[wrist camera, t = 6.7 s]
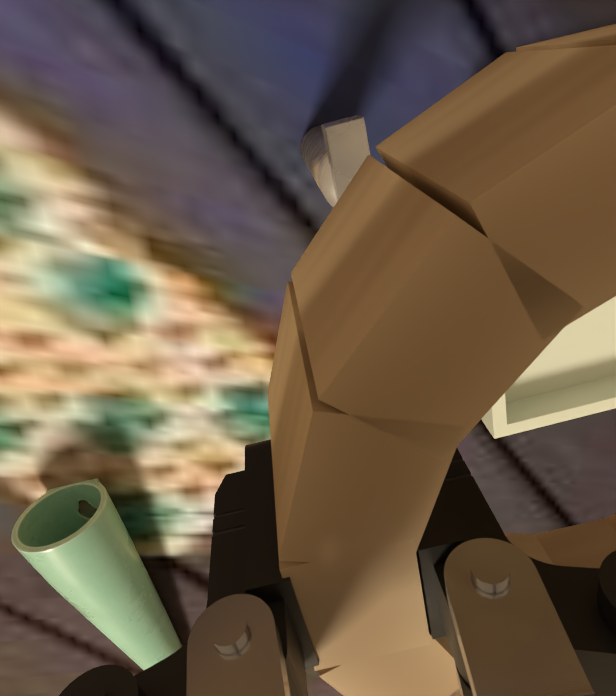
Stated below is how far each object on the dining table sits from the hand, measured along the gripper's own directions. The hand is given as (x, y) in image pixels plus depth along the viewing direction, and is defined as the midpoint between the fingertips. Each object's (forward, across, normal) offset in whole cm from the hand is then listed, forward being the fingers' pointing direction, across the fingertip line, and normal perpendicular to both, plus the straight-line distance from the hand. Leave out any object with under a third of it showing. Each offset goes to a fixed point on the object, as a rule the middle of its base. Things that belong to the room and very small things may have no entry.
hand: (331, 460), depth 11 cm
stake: (+17, -3, -4) cm, 18 cm away
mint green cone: (+18, +16, +25) cm, 35 cm away
